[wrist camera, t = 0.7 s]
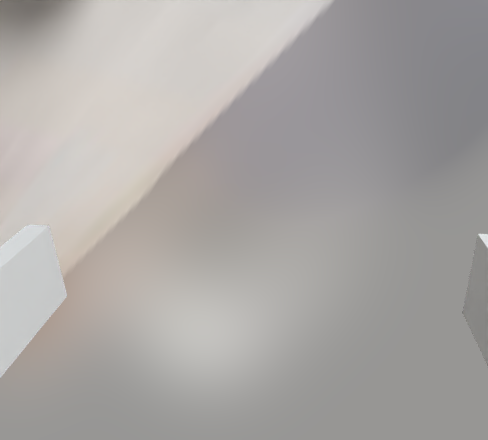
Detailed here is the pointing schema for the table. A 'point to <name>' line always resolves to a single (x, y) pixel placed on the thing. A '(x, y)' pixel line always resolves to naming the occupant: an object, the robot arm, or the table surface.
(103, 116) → the table surface
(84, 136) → the table surface
